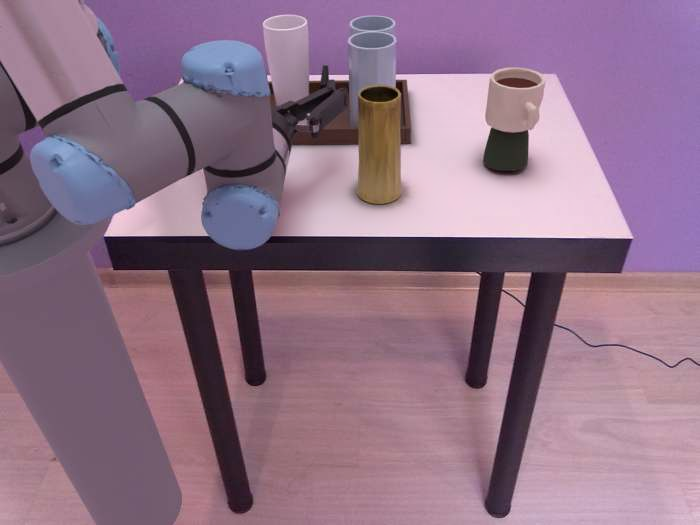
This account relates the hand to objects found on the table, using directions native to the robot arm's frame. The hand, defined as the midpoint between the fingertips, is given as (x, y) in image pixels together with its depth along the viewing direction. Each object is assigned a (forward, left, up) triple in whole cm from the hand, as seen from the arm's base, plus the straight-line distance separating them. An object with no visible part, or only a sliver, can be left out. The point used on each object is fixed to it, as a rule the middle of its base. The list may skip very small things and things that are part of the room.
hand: (278, 75), depth 89 cm
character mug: (+32, -7, -11) cm, 35 cm away
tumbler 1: (+13, +11, -11) cm, 20 cm away
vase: (+14, -14, -11) cm, 23 cm away
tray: (+6, +8, -11) cm, 15 cm away
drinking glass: (+1, +8, -10) cm, 13 cm away
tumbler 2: (+13, +4, -11) cm, 18 cm away
